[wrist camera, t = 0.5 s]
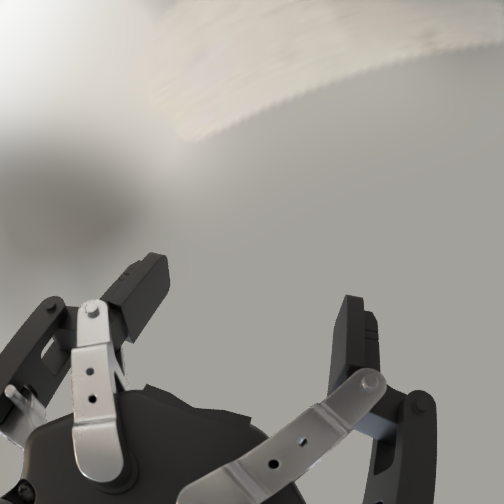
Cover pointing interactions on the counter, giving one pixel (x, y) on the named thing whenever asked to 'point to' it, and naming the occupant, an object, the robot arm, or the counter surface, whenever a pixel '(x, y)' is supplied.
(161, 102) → the counter surface
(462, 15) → the counter surface
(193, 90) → the counter surface
